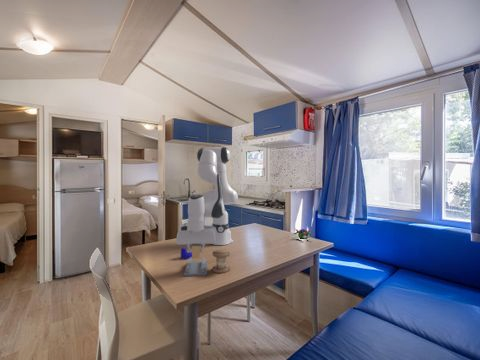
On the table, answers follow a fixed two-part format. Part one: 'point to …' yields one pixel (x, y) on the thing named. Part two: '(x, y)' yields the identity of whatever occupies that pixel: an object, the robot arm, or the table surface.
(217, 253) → the door knob
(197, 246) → the grey and tan block
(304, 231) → the toy animal
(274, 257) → the table surface
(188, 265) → the grey channel bracket
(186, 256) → the blue curved block
